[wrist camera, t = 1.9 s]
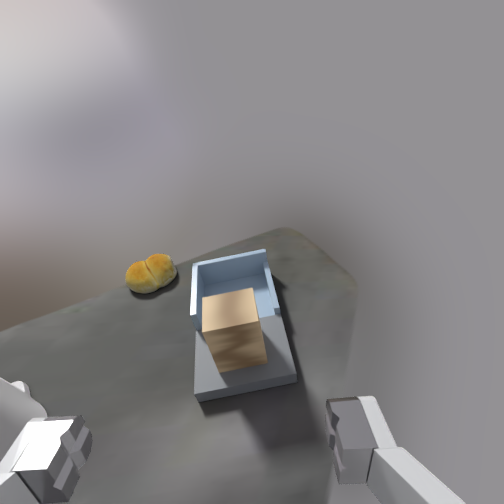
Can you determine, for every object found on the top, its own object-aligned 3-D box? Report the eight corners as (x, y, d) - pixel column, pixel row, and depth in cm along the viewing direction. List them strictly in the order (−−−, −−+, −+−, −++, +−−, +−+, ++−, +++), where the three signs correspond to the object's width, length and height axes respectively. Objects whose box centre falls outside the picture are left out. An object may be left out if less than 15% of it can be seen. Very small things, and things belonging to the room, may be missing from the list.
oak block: (219, 373, 36) (202, 332, 31) (217, 338, 40) (202, 297, 35) (267, 363, 36) (258, 320, 31) (261, 329, 40) (252, 287, 35)
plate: (198, 402, 35) (194, 394, 34) (199, 339, 42) (196, 330, 41) (297, 382, 35) (296, 373, 34) (282, 322, 43) (280, 313, 41)
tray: (199, 337, 43) (190, 315, 40) (200, 285, 51) (192, 263, 48) (281, 321, 43) (278, 297, 40) (268, 271, 51) (265, 248, 48)
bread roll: (126, 276, 57) (117, 260, 55) (171, 258, 59) (164, 242, 57) (132, 303, 51) (122, 287, 48) (182, 282, 53) (175, 265, 51)
